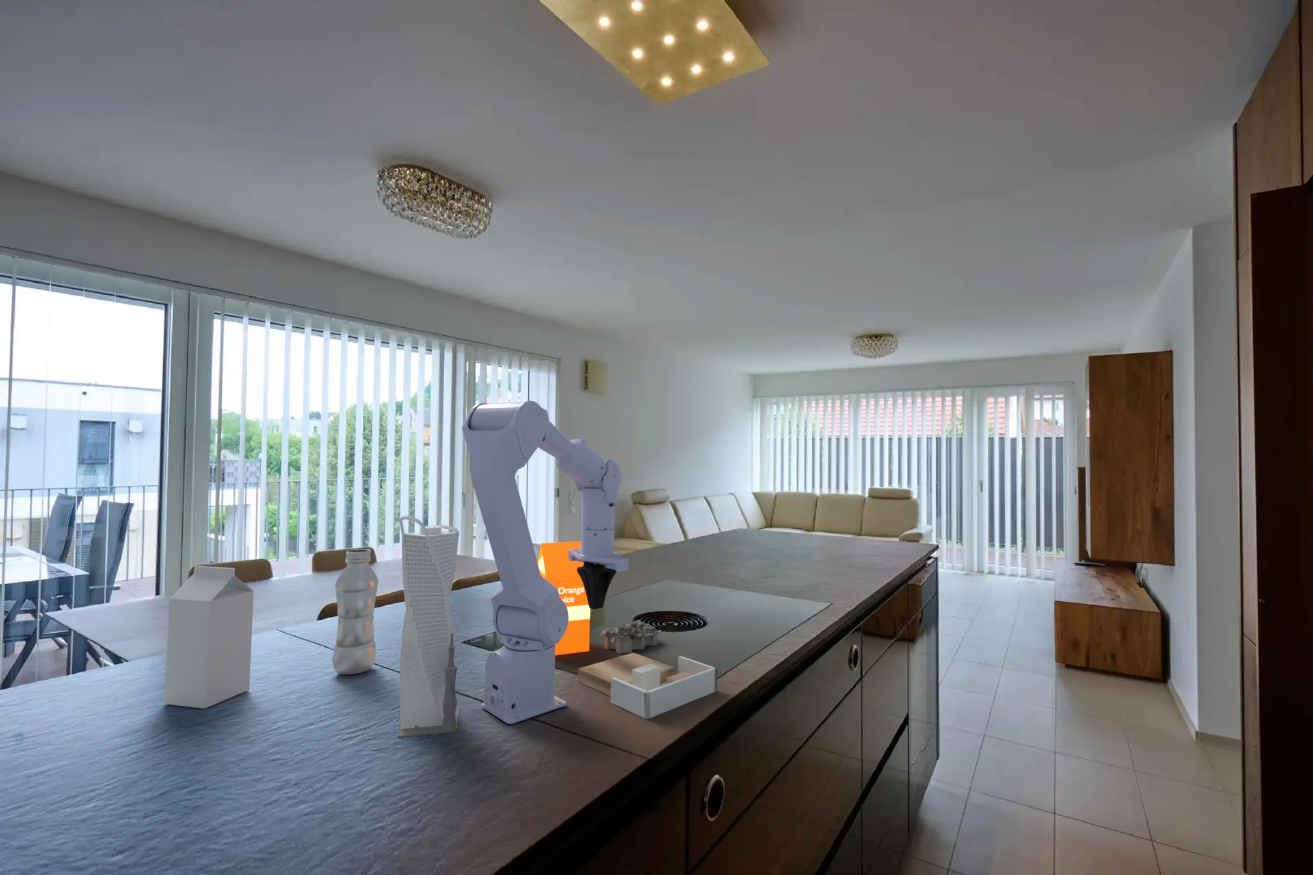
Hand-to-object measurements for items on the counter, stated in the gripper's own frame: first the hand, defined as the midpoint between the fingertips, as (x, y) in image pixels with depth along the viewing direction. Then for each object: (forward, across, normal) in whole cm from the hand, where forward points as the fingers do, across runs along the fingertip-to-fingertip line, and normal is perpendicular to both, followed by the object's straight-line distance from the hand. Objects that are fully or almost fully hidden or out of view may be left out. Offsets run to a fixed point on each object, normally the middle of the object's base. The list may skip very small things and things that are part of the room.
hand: (596, 607), depth 101 cm
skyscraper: (+11, -1, +30) cm, 32 cm away
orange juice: (+10, +13, -2) cm, 17 cm away
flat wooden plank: (+10, -8, 0) cm, 13 cm away
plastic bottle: (+10, +25, +31) cm, 41 cm away
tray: (+10, -17, 0) cm, 20 cm away
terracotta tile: (+8, -18, -4) cm, 20 cm away
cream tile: (+8, -14, +2) cm, 16 cm away
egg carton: (+11, +6, -13) cm, 18 cm away
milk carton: (+10, +27, +50) cm, 58 cm away
